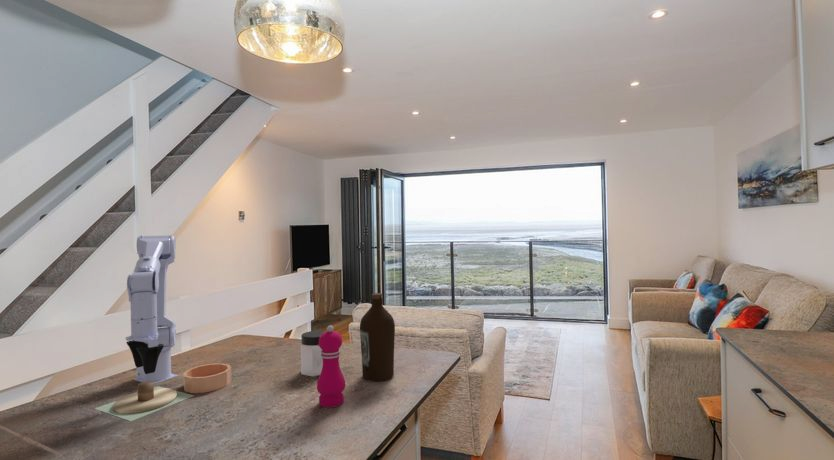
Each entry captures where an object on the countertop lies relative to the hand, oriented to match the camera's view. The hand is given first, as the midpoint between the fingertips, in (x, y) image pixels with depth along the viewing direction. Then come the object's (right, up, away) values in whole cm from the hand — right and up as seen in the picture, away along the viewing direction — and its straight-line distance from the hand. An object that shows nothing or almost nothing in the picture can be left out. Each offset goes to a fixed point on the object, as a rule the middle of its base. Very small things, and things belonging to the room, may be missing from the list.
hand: (145, 369), depth 107 cm
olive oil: (+59, -8, +17) cm, 62 cm away
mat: (0, -9, 0) cm, 9 cm away
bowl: (+10, -9, +12) cm, 18 cm away
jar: (+39, -8, +22) cm, 46 cm away
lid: (0, -9, 0) cm, 8 cm away
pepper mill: (+49, -8, -1) cm, 50 cm away
